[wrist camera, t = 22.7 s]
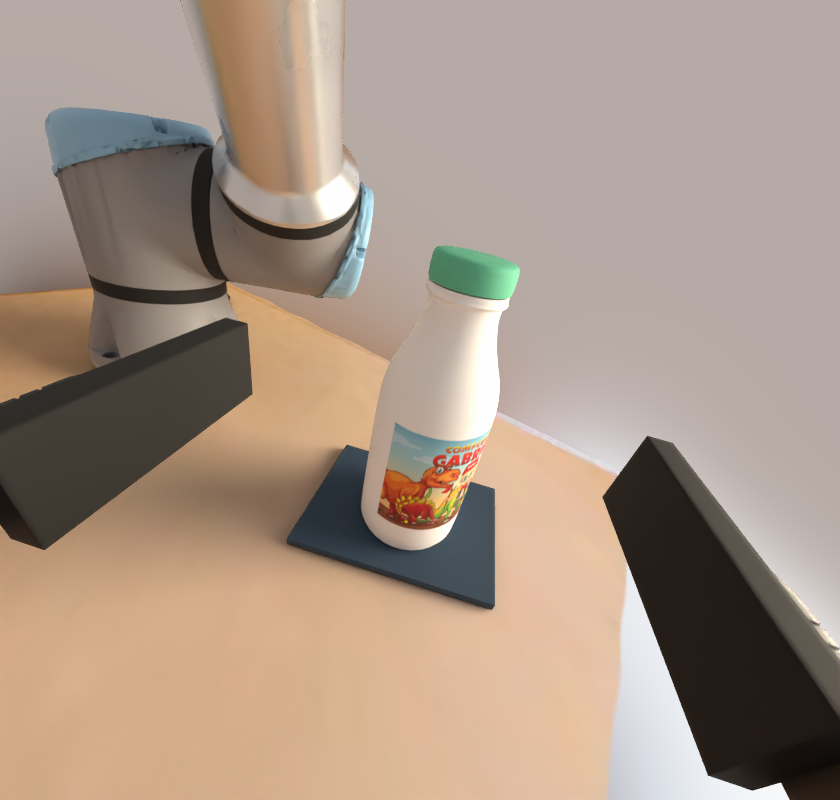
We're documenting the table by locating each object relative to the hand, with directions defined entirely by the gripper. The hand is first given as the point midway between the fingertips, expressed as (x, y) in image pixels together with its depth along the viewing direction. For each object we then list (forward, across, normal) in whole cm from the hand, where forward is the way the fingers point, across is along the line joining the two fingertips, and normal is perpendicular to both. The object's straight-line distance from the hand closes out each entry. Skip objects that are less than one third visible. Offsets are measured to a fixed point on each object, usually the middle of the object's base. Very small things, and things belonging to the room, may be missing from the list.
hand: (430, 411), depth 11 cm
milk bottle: (+9, 0, -16) cm, 19 cm away
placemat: (+9, 0, -17) cm, 19 cm away
